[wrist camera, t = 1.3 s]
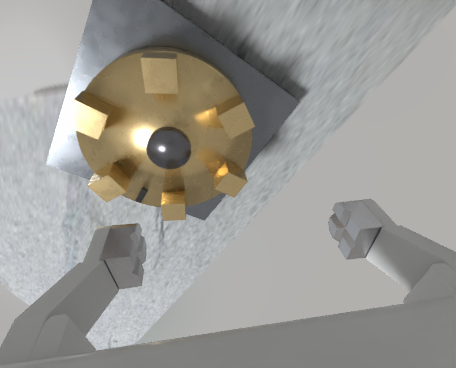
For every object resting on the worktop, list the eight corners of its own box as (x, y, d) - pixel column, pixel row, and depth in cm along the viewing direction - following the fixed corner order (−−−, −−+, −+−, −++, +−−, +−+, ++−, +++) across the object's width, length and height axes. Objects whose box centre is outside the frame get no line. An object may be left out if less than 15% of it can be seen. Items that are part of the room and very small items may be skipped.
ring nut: (119, 0, 23) (103, 2, 19) (278, 108, 31) (293, 126, 27) (65, 160, 32) (46, 186, 28) (200, 210, 41) (201, 236, 36)
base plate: (109, -38, 23) (103, -41, 21) (294, 96, 33) (300, 102, 31) (52, 156, 34) (45, 165, 32) (204, 212, 44) (204, 221, 42)
